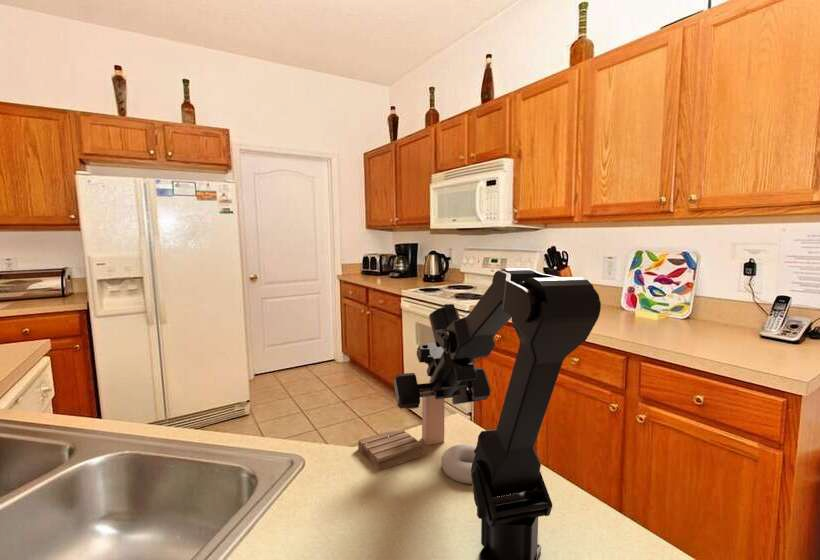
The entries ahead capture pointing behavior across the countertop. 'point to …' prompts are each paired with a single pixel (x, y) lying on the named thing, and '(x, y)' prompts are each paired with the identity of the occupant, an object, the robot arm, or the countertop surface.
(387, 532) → the countertop surface
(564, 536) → the countertop surface
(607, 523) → the countertop surface
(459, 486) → the countertop surface
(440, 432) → the clay bar
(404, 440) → the stacked wooden slats
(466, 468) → the donut
